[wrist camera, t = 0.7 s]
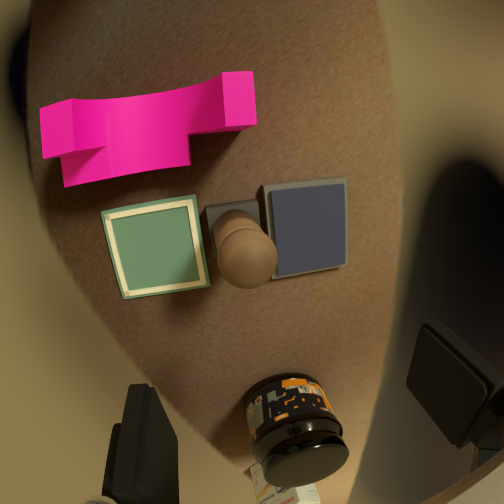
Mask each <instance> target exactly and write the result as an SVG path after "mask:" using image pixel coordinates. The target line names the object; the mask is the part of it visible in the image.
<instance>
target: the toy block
mask: <svg viewBox="0 0 504 504" xmlns="http://www.w3.org/2000/svg"><path fill="white" fill-rule="evenodd" d="M40 123H41V138H42V150H43V159H48V158H56V157H61V165H62V173H63V181H64V187H69V186H73V185H78V184H83V183H88V182H93V181H98V180H103V179H108V178H113V177H117V176H122V175H127V174H132V173H138V172H144V171H150V170H156V169H163V168H170V167H179V166H188V165H191V155H190V144H189V135H198V134H207V133H218V132H229V131H242V130H244V129H247V128H249V127H252V126H254V125H257V119H256V106H255V92H254V79H253V71H241V72H222V73H221V74H220V75H219V76H217V77H215V78H213V79H211V80H209V81H206V82H203V83H200V84H197V85H193V86H189V87H185V88H181V89H176V90H171V91H166V92H160V93H154V94H148V95H141V96H133V97H125V98H115V99H102V100H79V99H68V100H65V101H62V102H58V103H55V104H52V105H49V106H46V107H43V108H40Z"/></svg>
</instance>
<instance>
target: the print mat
mask: <svg viewBox="0 0 504 504" xmlns="http://www.w3.org/2000/svg"><path fill="white" fill-rule="evenodd" d="M101 216H102V221H103V225H104V230H105V234H106V238H107V242H108V246H109V250H110V254H111V258H112V262H113V266H114V269H115V273H116V277H117V280H118V283H119V287H120V290H121V294H122V297H123V299H129V298H136V297H143V296H150V295H157V294H164V293H171V292H177V291H184V290H190V289H197V288H203V287H210V280H209V275H208V269H207V263H206V257H205V251H204V245H203V239H202V233H201V227H200V220H199V214H198V207H197V200H196V194H192V195H185V196H179V197H173V198H167V199H162V200H156V201H150V202H145V203H140V204H134V205H129V206H124V207H119V208H114V209H109V210H104V211H101Z"/></svg>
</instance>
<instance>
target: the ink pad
mask: <svg viewBox="0 0 504 504" xmlns="http://www.w3.org/2000/svg"><path fill="white" fill-rule="evenodd" d="M262 193H263V203H264V213H265V223H266V234H267V236H268V237H269V238H270V239H271V240H272V241H273V243H274V245H275V247H276V250H277V255H278V262H277V267H276V270H275V272H274V274H273V276H272V279H277V278H283V277H288V276H294V275H299V274H305V273H310V272H316V271H321V270H327V269H332V268H337V267H342V266H347V265H348V212H347V182H346V178H345V177H331V178H320V179H309V180H299V181H289V182H280V183H271V184H263V185H262Z"/></svg>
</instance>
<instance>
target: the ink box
mask: <svg viewBox="0 0 504 504" xmlns="http://www.w3.org/2000/svg"><path fill="white" fill-rule="evenodd" d="M250 471H251V476H252V480H253V485H254V490H255V494H256V499H257V503H258V504H320V503H321V502H320V499H319V496H318V493H317V490H316V487H315V485H314V483H312V484H309V485H305V486H300V487H293V488H280V487H275V486H272V485H270V484H268V483H267V482H266V481H265V479H264V476H263V472H262V468H261V465H260V464H259V463H256V464H255V465H254V466H252V467H250Z"/></svg>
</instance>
